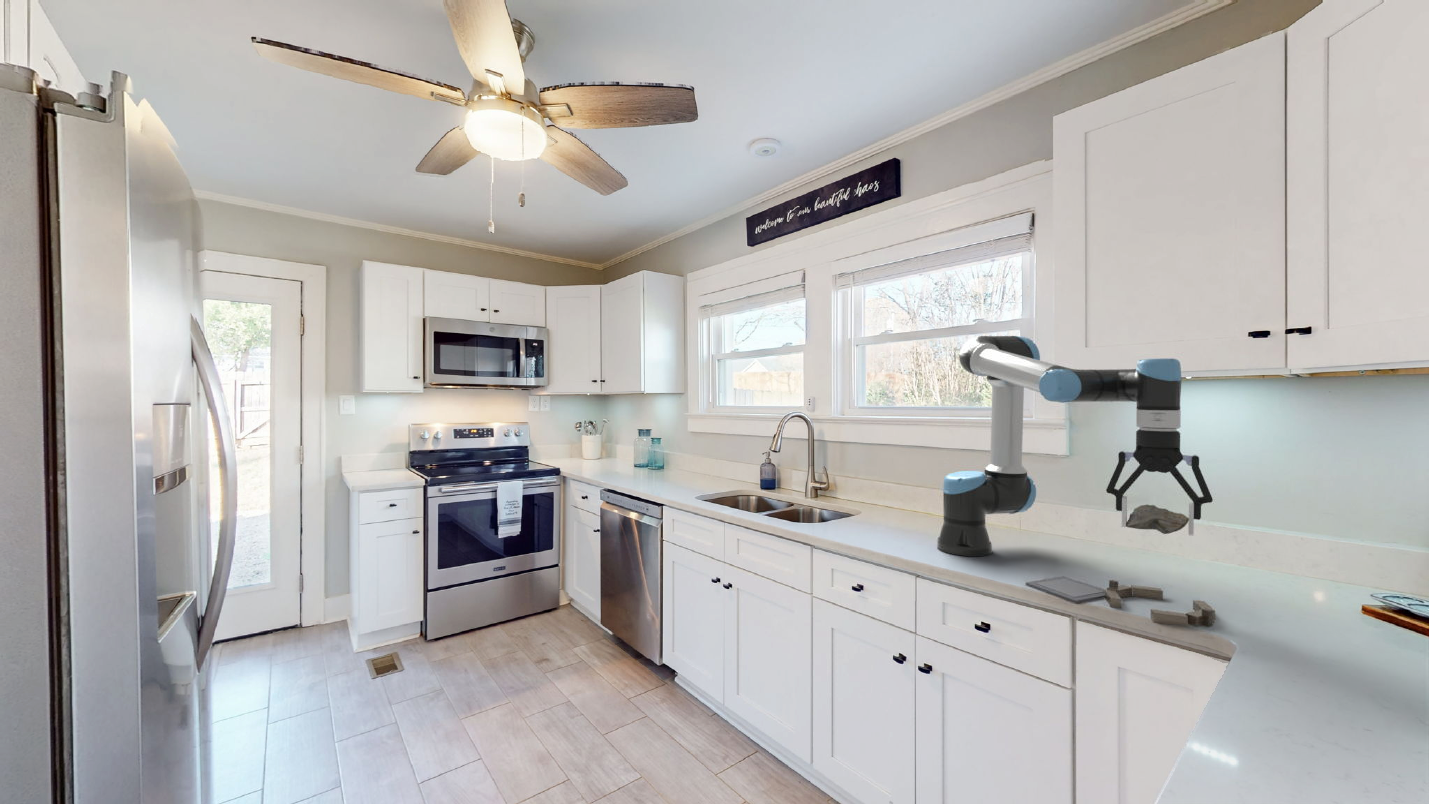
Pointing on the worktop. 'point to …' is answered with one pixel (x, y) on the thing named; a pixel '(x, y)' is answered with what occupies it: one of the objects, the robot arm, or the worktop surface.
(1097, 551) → the worktop surface
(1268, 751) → the worktop surface
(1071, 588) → the mat
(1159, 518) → the fossilized seashell
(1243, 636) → the worktop surface
